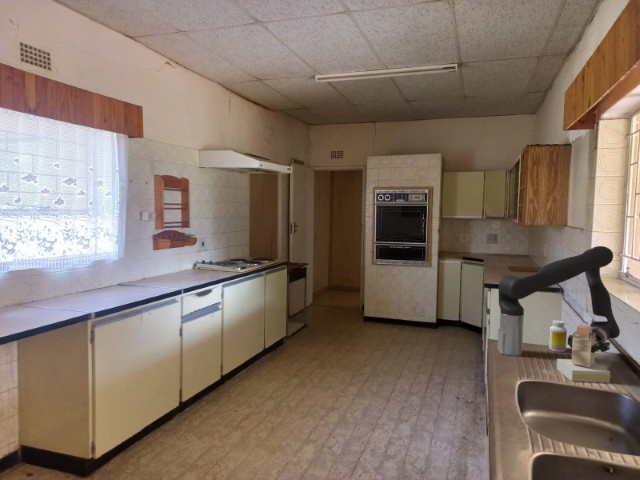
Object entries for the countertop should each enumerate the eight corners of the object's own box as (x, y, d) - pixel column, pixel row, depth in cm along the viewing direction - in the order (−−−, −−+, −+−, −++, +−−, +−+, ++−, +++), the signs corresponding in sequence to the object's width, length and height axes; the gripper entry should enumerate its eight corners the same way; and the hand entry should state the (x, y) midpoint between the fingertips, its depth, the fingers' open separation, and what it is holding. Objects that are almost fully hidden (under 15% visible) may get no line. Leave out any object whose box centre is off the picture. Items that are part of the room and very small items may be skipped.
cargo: (576, 337, 161) (576, 326, 160) (579, 334, 163) (580, 324, 163) (588, 339, 158) (589, 328, 157) (591, 337, 161) (592, 326, 160)
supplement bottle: (569, 352, 188) (570, 323, 187) (553, 352, 188) (554, 323, 187) (560, 347, 194) (562, 319, 193) (545, 347, 194) (547, 319, 194)
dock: (571, 381, 156) (572, 370, 156) (556, 368, 168) (557, 358, 168) (609, 382, 155) (610, 372, 155) (591, 370, 167) (592, 360, 167)
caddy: (571, 363, 161) (572, 333, 161) (576, 359, 166) (577, 330, 165) (589, 367, 157) (591, 336, 156) (594, 363, 161) (595, 333, 160)
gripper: (574, 325, 176) (560, 333, 164) (616, 332, 165) (605, 342, 154) (573, 343, 176) (560, 353, 165) (615, 351, 166) (604, 362, 154)
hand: (581, 347), depth 159 cm, fingers closed on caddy, 6 cm apart
